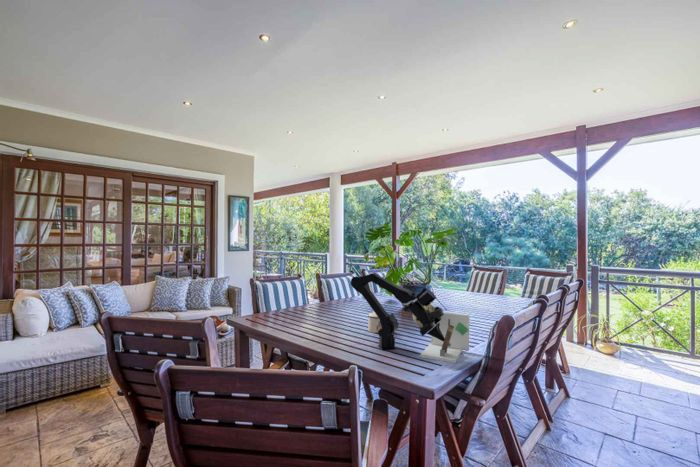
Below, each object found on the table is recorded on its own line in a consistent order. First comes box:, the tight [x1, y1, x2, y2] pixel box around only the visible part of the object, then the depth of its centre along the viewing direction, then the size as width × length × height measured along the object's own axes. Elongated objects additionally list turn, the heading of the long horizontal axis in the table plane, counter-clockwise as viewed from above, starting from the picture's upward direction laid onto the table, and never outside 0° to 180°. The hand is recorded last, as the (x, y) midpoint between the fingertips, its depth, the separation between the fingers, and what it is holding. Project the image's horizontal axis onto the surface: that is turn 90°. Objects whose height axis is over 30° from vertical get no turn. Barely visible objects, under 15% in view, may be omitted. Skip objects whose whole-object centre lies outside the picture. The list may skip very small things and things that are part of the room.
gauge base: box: [420, 311, 470, 364], centre depth 158 cm, size 18×19×17 cm
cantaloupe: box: [412, 303, 436, 329], centre depth 204 cm, size 15×15×15 cm
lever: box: [441, 325, 454, 353], centre depth 153 cm, size 2×3×12 cm, turn 153°
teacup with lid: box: [367, 311, 382, 334], centre depth 196 cm, size 12×9×12 cm
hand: (444, 340), depth 153 cm, fingers closed, pressing on lever
